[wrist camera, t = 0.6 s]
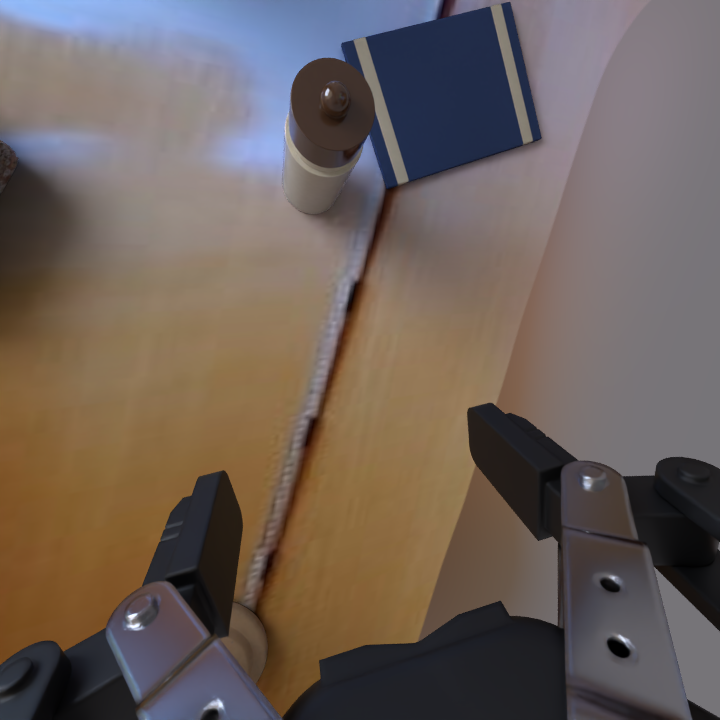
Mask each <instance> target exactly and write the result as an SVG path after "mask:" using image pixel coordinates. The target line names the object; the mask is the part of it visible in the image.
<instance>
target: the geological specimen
mask: <svg viewBox="0 0 720 720" xmlns="http://www.w3.org/2000/svg"><path fill="white" fill-rule="evenodd" d="M17 163H18V157H16V154H15V152H14V151H13V150H12V149H11V147H10V146H8V145H7V144H6V143H4V142H3V141H1V140H0V194H1V192H2V191H3V189H4V187H5V186H6V184H7V183H8V181H9V179H10V177H11V175H12V174H13V172H14V170H15V168H16V166H17Z"/></svg>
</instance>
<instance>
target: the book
mask: <svg viewBox="0 0 720 720" xmlns="http://www.w3.org/2000/svg"><path fill="white" fill-rule="evenodd" d="M341 47H342V50H343V53H344V56H345V60H346V63H348V64H350V65H352V66H353V67H354V68H355V69H357V70H358V71H359V72H360V73H361V74H362V76H363V77H364V78H365V80H366V81H367V83H368V85H369V87H370V89H371V91H372V94H373V98H374V103H375V118H374V123H373V126H372V129H371V131H370V132H369V135H370V138H371V141H372V145H373V148H374V151H375V154H376V157H377V160H378V163H379V167H380V170H381V173H382V176H383V179H384V182H385V185H386V189H389V188H392V187H396V186H399V185H402V184H405V183H408V182H411V181H414V180H417V179H420V178H423V177H426V176H430V175H433V174H436V173H439V172H442V171H445V170H448V169H451V168H454V167H457V166H460V165H463V164H467V163H470V162H473V161H476V160H479V159H482V158H485V157H488V156H491V155H494V154H497V153H501V152H504V151H507V150H510V149H513V148H516V147H519V146H522V145H525V144H528V143H531V142H535V141H538V140H540V139H541V134H540V129H539V125H538V121H537V116H536V112H535V108H534V103H533V99H532V95H531V90H530V86H529V82H528V77H527V73H526V68H525V64H524V60H523V55H522V51H521V47H520V42H519V38H518V34H517V29H516V25H515V21H514V16H513V12H512V8H511V3H510V2H507V3H503V4H497V5H493V6H490V7H486V8H482V9H478V10H474V11H470V12H466V13H462V14H458V15H454V16H450V17H446V18H442V19H437V20H433V21H429V22H425V23H421V24H417V25H413V26H409V27H405V28H401V29H397V30H393V31H389V32H385V33H380V34H376V35H372V36H368V37H363V38H359V39H355V40H352V41H348V42H344V43H342V46H341Z"/></svg>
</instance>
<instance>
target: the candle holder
mask: <svg viewBox="0 0 720 720" xmlns="http://www.w3.org/2000/svg"><path fill="white" fill-rule="evenodd" d="M220 640H221V641H222V642H223V643H224V645H225V646H226V647H227V649H228V650H229V651H230V652H231V654H232V655H233V656H234V658H235V659H236V660H237V661H238V663H239V664H240V665H241V667H242V668H243V669H244V670H245V672H246V673H247V674H248V676H249V677H250V678H251V679H252V681H253V682H254V683H255V684H256V683H257V681H258V680H259V678H260V676H261V674H262V672H263V669H264V666H265V663H266V659H267V652H268V643H267V637H266V632H265V630H264V627H263V625H262V623H261V622H260V620H259V619H258V617H257V616H256V615H255V614H254V613H253V612H252V611H250V610H249V609H247V608H246V607H244V606H242V605H240V604H238V603H235V602H233V605H232V613H231V620H230V628H229V636H227V637H224V638H220Z"/></svg>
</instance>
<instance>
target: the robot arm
mask: <svg viewBox="0 0 720 720" xmlns="http://www.w3.org/2000/svg"><path fill="white" fill-rule="evenodd" d="M467 418H468V432H469V446H470V452H471V455H472V458H473V460H474V462H475V464H476V465H477V467H478V468H479V469H480V470H481V471H482V473H483V474H484V475H485V476H486V478H487V479H488V480H489V481H490V482H491V484H492V485H493V486H494V487H495V488H496V490H497V491H498V492H499V494H500V495H501V496H502V497H503V498H504V500H505V501H506V502H507V503H508V505H509V506H510V507H511V508H512V509H513V511H514V512H515V513H516V514H517V516H518V517H519V518H520V519H521V520H522V522H523V523H524V524H525V525H526V527H527V528H528V529H529V530H530V532H531V533H532V534H533V535H534V536H535V538H536V539H537V540H538V541H539V540H543V539H546V538H549V537H552V536H553V537H554V538H555V539H556V541H558V626H556V625H554V624H551V623H548V622H545V621H542V620H539V619H534V618H529V617H521V616H509V614H508V612H507V611H506V609H505V607H504V605H503V604H502V602H501V601H498V602H495V603H492V604H489V605H486V606H483V607H480V608H477V609H474V610H471V611H468V612H465V613H462V614H459V615H457V616H456V617H454V618H453V619H451V620H450V621H448V622H447V623H446V624H444V625H443V626H441V627H440V628H438V629H437V630H435V631H434V632H433V633H431V634H430V635H428V636H427V637H425V638H424V639H423V640H421V641H419V642H416V643H408V644H381V645H365V646H362V647H359V648H356V649H352V650H349V651H346V652H343V653H340V654H337V655H334V656H331V657H328V658H325V659H322V660H319V663H320V675H321V679H320V680H319V681H317V682H316V683H314V684H313V685H312V686H311V687H309V688H308V689H307V690H306V691H305V692H304V693H303V694H302V695H301V696H300V697H299V698H298V699H297V700H296V701H295V702H294V703H293V704H292V706H291V707H290V708H289V710H288V711H287V712H286V714H285V715H284V716H283V717H282V718H281V717H280V715H279V714H278V713H277V712H276V710H275V709H274V708H273V706H272V705H271V704H270V703H269V701H268V700H267V699H266V697H265V696H264V695H263V694H262V692H261V691H260V690H259V688H258V687H257V686H256V685H255V683H254V682H253V681H252V679H251V678H250V677H249V676H248V674H247V673H246V672H245V670H244V669H243V668H242V667H241V665H240V664H239V663H238V661H237V660H236V659H235V658H234V656H233V655H232V654H231V652H230V651H229V650H228V649H227V647H226V646H225V645H224V643H223V642H222V641H221V640H220V638H224V637H227V636H229V628H230V620H231V613H232V605H233V598H234V590H235V583H236V575H237V568H238V560H239V553H240V545H241V538H242V530H243V522H242V514H241V510H240V507H239V504H238V501H237V499H236V496H235V493H234V491H233V488H232V485H231V482H230V480H229V477H228V475H227V473H226V471H224V470H223V471H219V472H215V473H211V474H207V475H203V476H200V477H198V479H197V482H196V485H195V488H194V490H193V493H192V496H189V497H185V498H183V499H182V500H181V501H180V502H179V503H178V505H177V506H176V507H175V508H174V509H173V510H172V512H171V513H170V516H169V519H168V521H167V524H166V526H165V528H166V529H165V530H164V531H163V534H162V536H161V542H159V544H158V547H157V549H156V552H155V554H154V557H153V559H152V562H151V564H150V567H149V569H148V572H147V575H146V577H145V580H144V582H143V585H142V587H140V588H139V589H137V590H135V591H134V592H133V593H131V594H130V595H129V596H127V597H126V598H125V599H124V600H123V601H122V602H121V603H120V604H119V605H118V607H117V608H116V609H115V610H114V612H113V613H112V615H111V617H110V618H109V621H108V623H107V626H106V628H105V629H103V630H101V631H100V632H98V633H96V634H94V635H93V636H91V637H89V638H87V639H85V640H84V641H82V642H80V643H78V644H76V645H75V646H73V647H71V648H69V649H67V650H66V651H64V652H63V651H62V649H61V648H60V647H59V645H58V644H57V643H56V642H53V641H41V642H37V643H35V644H32V645H30V646H28V647H26V648H24V649H22V650H20V651H19V652H17V653H16V654H14V655H13V656H11V657H10V658H9V659H7V660H6V661H5V662H4V663H2V664H1V665H0V720H720V718H719V717H717V716H716V715H714V714H712V713H710V712H708V711H707V710H705V709H703V708H701V707H700V706H698V705H696V704H695V703H693V702H691V701H689V700H688V699H687V698H686V693H685V690H684V686H683V682H682V677H681V674H680V669H679V665H678V661H677V657H676V653H675V650H674V646H673V642H672V638H671V634H670V630H669V626H668V622H667V618H666V614H665V610H664V606H663V602H662V598H661V594H660V590H659V586H658V582H657V578H656V574H655V570H654V567H655V568H656V569H657V570H658V571H659V572H660V573H661V574H662V575H663V576H664V577H665V578H666V579H667V580H668V581H669V582H670V583H672V585H673V586H675V588H676V589H678V591H680V593H681V594H682V595H684V596H685V597H686V598H687V599H688V600H689V601H690V602H691V603H692V604H693V605H694V606H695V607H696V608H697V609H698V610H699V611H700V612H701V613H702V614H703V615H704V616H705V617H706V618H707V619H708V620H709V621H710V622H711V623H712V624H713V625H714V626H715V627H716V628H717V629H718V630H719V631H720V551H719V550H718V545H719V542H720V469H719V468H717V467H715V466H713V465H711V464H708V463H706V462H703V461H699V460H696V459H691V458H684V457H670V458H666V459H663V460H661V461H659V462H658V464H657V465H656V471H655V476H626V477H625V476H621V475H620V474H619V473H618V472H617V471H616V470H614V469H612V468H611V467H609V466H607V465H604V464H601V463H597V462H592V461H578V460H577V459H576V458H575V457H573V456H572V455H571V454H569V453H568V452H567V451H566V450H564V449H563V448H562V447H561V446H559V445H558V444H557V443H555V442H554V441H553V440H552V439H550V438H549V437H546V436H545V434H544V433H543V432H541V431H540V430H539V429H537V428H536V427H535V426H534V425H533V424H531V423H530V422H529V421H528V420H526V419H524V418H522V417H519V416H517V415H514V414H512V413H508V414H505V413H504V412H502V411H501V410H500V409H499V408H497V407H496V406H495V405H494V404H493V403H487V404H483V405H479V406H475V407H471V408H469V409H468V412H467Z"/></svg>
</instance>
